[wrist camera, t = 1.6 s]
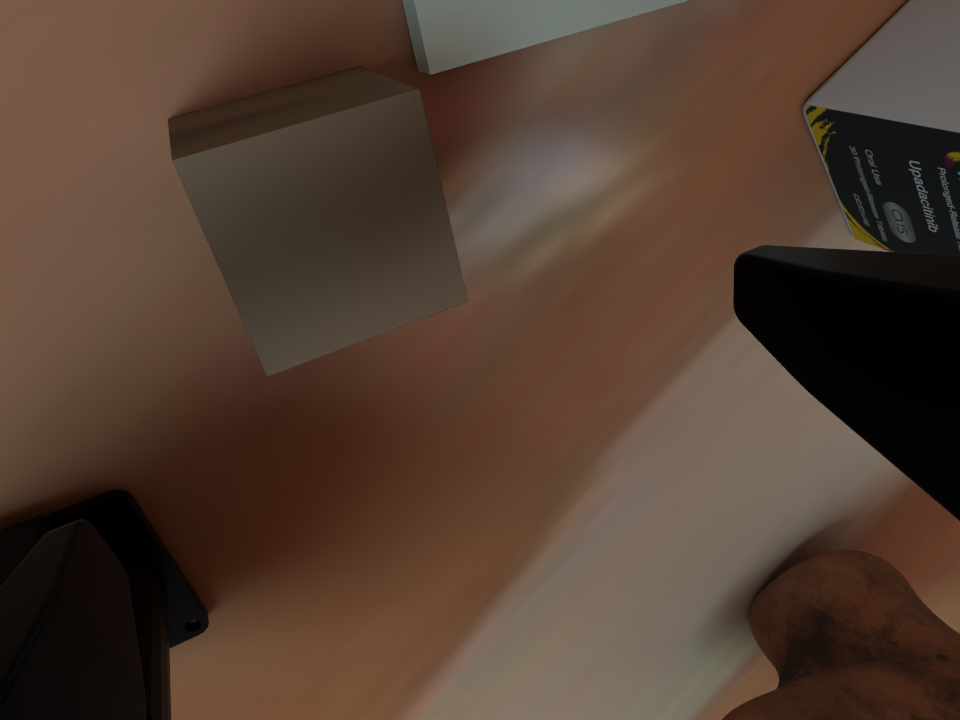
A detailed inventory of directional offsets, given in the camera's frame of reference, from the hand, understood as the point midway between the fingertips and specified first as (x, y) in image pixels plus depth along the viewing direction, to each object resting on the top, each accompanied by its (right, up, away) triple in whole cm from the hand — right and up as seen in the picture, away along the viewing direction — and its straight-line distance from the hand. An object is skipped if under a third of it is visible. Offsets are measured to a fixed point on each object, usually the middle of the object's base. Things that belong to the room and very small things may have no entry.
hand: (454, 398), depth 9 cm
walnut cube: (-5, +5, +10) cm, 12 cm away
